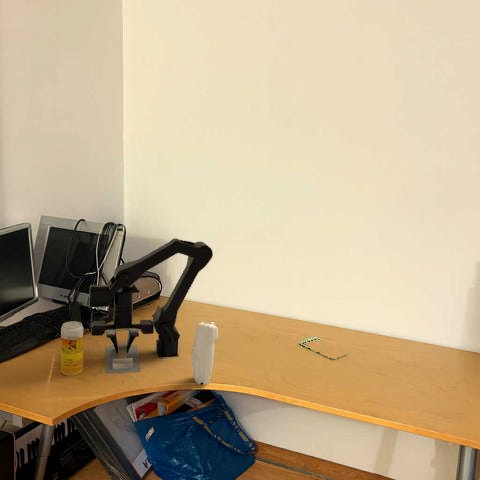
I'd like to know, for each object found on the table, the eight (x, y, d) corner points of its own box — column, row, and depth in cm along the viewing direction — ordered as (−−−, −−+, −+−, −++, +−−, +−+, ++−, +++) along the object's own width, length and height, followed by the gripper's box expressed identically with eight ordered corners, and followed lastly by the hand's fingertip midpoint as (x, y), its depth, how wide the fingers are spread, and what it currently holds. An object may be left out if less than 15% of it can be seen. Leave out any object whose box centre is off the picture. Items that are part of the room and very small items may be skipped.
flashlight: (216, 377, 149) (191, 375, 149) (220, 320, 146) (195, 318, 146) (214, 388, 143) (188, 385, 143) (218, 328, 139) (192, 326, 139)
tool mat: (136, 346, 167) (136, 344, 167) (140, 373, 148) (140, 371, 148) (105, 347, 165) (105, 346, 164) (105, 375, 146) (105, 373, 145)
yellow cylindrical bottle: (62, 379, 141) (62, 329, 139) (59, 370, 147) (59, 322, 144) (84, 376, 144) (85, 327, 141) (80, 367, 149) (81, 319, 147)
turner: (112, 348, 163) (112, 341, 162) (130, 348, 164) (131, 340, 164) (112, 369, 148) (112, 361, 148) (133, 368, 150) (133, 360, 149)
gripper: (151, 297, 165) (149, 341, 168) (92, 298, 160) (91, 344, 163) (154, 308, 154) (152, 355, 157) (91, 309, 149) (91, 358, 152)
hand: (122, 353), depth 158 cm, fingers closed on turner, 3 cm apart
